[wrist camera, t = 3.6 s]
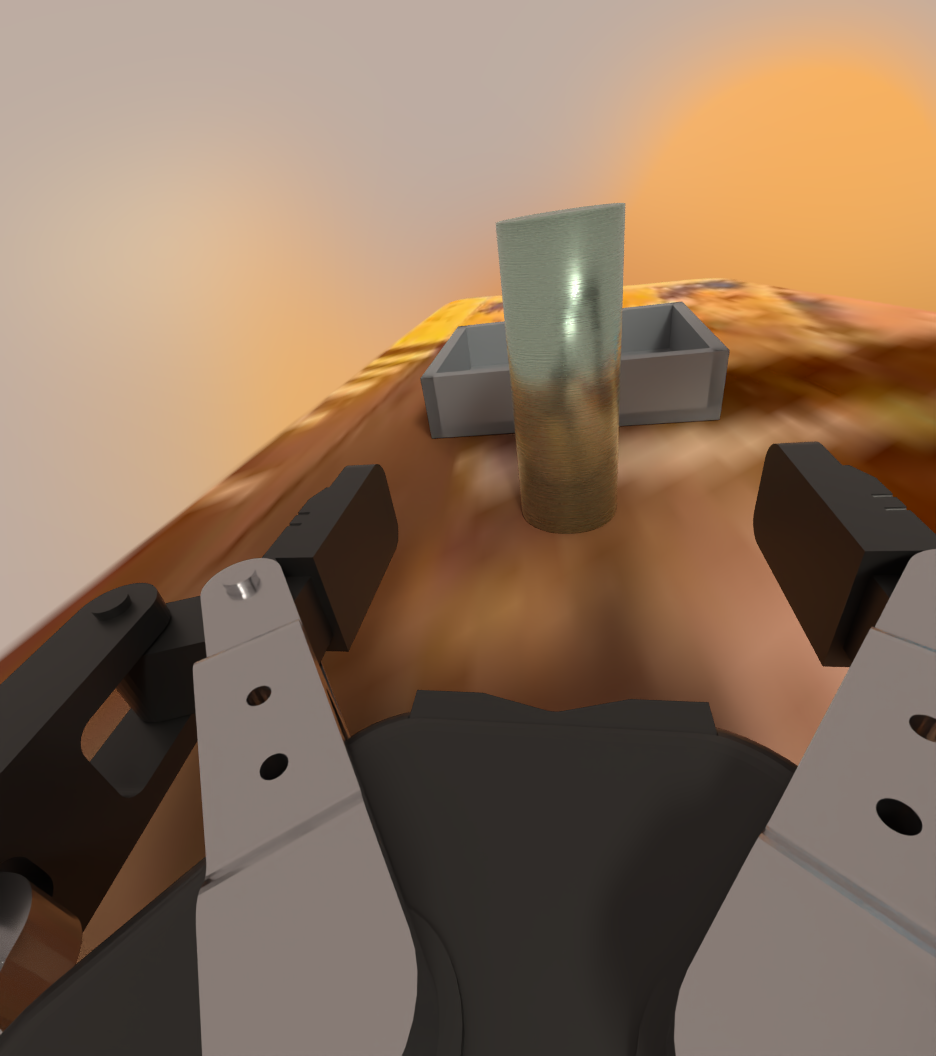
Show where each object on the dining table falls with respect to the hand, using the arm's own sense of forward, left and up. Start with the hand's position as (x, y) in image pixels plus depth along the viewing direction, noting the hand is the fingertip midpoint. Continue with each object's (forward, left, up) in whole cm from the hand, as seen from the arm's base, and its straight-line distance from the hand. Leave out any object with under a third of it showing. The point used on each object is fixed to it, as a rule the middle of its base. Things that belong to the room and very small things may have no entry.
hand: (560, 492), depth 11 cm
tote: (0, -27, -7) cm, 28 cm away
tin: (0, -11, -7) cm, 13 cm away
